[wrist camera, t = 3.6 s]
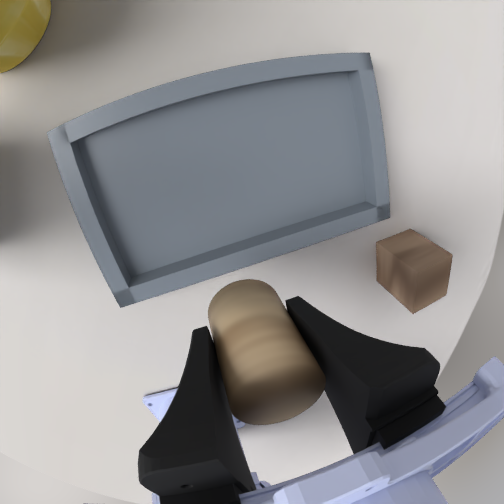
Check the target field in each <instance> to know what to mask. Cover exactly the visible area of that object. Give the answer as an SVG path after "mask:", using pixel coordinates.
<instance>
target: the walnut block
mask: <svg viewBox="0 0 504 504" xmlns="http://www.w3.org/2000/svg"><path fill="white" fill-rule="evenodd" d="M376 258H377V282H379V283H380V284H381V285H382V286H383V287H384V288H385V289H386V290H387V291H389V292H390V293H391V294H392V295H393V296H394V297H395V298H396V299H397V300H398V301H399V302H400V303H402V304H403V305H404V306H405V307H406V308H407V309H408V310H409V311H410V312H411V313H412V314H414V313H416V312H417V311H419V310H421V309H423V308H425V307H426V306H428V305H430V304H432V303H433V302H435V301H437V300H439V299H440V298H442V297H444V296H445V295H446V294H447V288H448V282H449V276H450V270H451V263H452V254H451V253H449V252H448V251H446V250H444V249H443V248H441V247H440V246H438V245H436V244H435V243H433V242H432V241H430V240H428V239H427V238H425V237H423V236H422V235H420V234H418V233H417V232H415V231H413V230H411V229H409V230H406V231H404V232H401V233H399V234H396V235H393V236H391V237H388V238H386V239H383V240H380V241H378V242H376Z"/></svg>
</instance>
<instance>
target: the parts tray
mask: <svg viewBox="0 0 504 504" xmlns="http://www.w3.org/2000/svg"><path fill="white" fill-rule="evenodd" d="M47 135H48V138H49V142H50V145H51V148H52V151H53V154H54V158H55V161H56V164H57V167H58V170H59V172H60V175H61V178H62V181H63V184H64V186H65V189H66V192H67V194H68V197H69V200H70V202H71V205H72V207H73V210H74V212H75V215H76V217H77V219H78V222H79V224H80V227H81V229H82V231H83V233H84V236H85V238H86V240H87V242H88V245H89V247H90V249H91V251H92V253H93V255H94V258H95V260H96V262H97V264H98V266H99V268H100V270H101V272H102V274H103V276H104V278H105V280H106V282H107V284H108V286H109V288H110V289H111V291H112V293H113V295H114V297H115V299H116V301H117V303H118V304H119V306H120V308H121V307H125V306H128V305H131V304H134V303H137V302H140V301H143V300H146V299H150V298H153V297H156V296H159V295H162V294H165V293H168V292H171V291H174V290H177V289H181V288H184V287H187V286H190V285H193V284H196V283H199V282H202V281H205V280H208V279H211V278H214V277H217V276H220V275H223V274H226V273H229V272H232V271H235V270H238V269H241V268H244V267H247V266H250V265H253V264H256V263H259V262H262V261H265V260H268V259H271V258H274V257H277V256H280V255H283V254H286V253H289V252H292V251H295V250H298V249H301V248H304V247H307V246H310V245H313V244H316V243H318V242H321V241H324V240H327V239H330V238H333V237H336V236H339V235H342V234H345V233H348V232H351V231H353V230H356V229H359V228H362V227H365V226H368V225H371V224H374V223H376V222H379V221H382V220H385V219H388V218H390V202H389V185H388V171H387V159H386V149H385V140H384V132H383V124H382V117H381V110H380V104H379V98H378V92H377V86H376V81H375V76H374V71H373V66H372V61H371V57H370V53H337V54H321V55H309V56H298V57H290V58H282V59H274V60H267V61H261V62H255V63H249V64H244V65H238V66H233V67H229V68H224V69H219V70H215V71H211V72H206V73H202V74H198V75H194V76H191V77H187V78H183V79H180V80H176V81H173V82H169V83H166V84H163V85H160V86H156V87H153V88H150V89H147V90H144V91H141V92H139V93H136V94H133V95H130V96H127V97H125V98H122V99H119V100H117V101H114V102H112V103H109V104H107V105H104V106H102V107H100V108H97V109H95V110H93V111H90V112H88V113H86V114H83V115H81V116H79V117H77V118H75V119H73V120H71V121H68V122H66V123H64V124H62V125H60V126H58V127H56V128H54V129H52V130H50V131H49V132H47Z"/></svg>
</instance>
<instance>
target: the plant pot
mask: <svg viewBox="0 0 504 504" xmlns="http://www.w3.org/2000/svg"><path fill="white" fill-rule="evenodd" d="M50 14H51V2H50V0H0V73H3V72H6V71H8V70H10V69H12V68H14V67H15V66H17V65H18V64H20V63H21V62H22V61H23V60H25V59H26V58H27V57H28V56H29V54H30V53H31V52H32V51H33V50H34V49H35V47H36V46H37V45H38V43H39V41H40V40H41V38H42V36H43V34H44V32H45V30H46V28H47V25H48V22H49V19H50Z"/></svg>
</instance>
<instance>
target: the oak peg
mask: <svg viewBox="0 0 504 504" xmlns="http://www.w3.org/2000/svg"><path fill="white" fill-rule="evenodd" d="M208 318H209V323H210V328H211V332H212V337H213V341H214V345H215V350H216V354H217V358H218V362H219V366H220V371H221V375H222V379H223V383H224V387H225V391H226V394H227V398H228V402H229V406H230V410H231V412H232V414H233V416H234V417H235V418H237V419H238V420H240V421H241V422H244V423H247V424H253V425H268V424H274V423H278V422H282V421H285V420H288V419H290V418H293V417H295V416H297V415H299V414H300V413H302V412H304V411H305V410H307V409H308V408H309V407H310V406H312V405H313V404H314V403H315V402H316V401H317V400H318V399H319V397H320V396H321V394H322V393H323V391H324V388H325V385H326V378H325V375H324V373H323V371H322V369H321V368H320V366H319V364H318V363H317V361H316V359H315V357H314V356H313V354H312V352H311V351H310V349H309V347H308V346H307V344H306V342H305V340H304V339H303V337H302V335H301V334H300V332H299V330H298V329H297V327H296V325H295V323H294V322H293V320H292V318H291V317H290V315H289V313H288V311H287V310H286V308H285V306H284V305H283V303H282V301H281V300H280V298H279V296H278V294H277V293H276V291H275V290H274V289H273V288H272V287H271V286H270V285H268V284H267V283H265V282H263V281H259V280H254V279H246V280H239V281H236V282H233V283H231V284H229V285H227V286H225V287H224V288H222V289H221V290H220V291H219V292H218V293H217V294H216V295H215V296H214V297H213V299H212V300H211V303H210V305H209V308H208Z"/></svg>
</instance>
